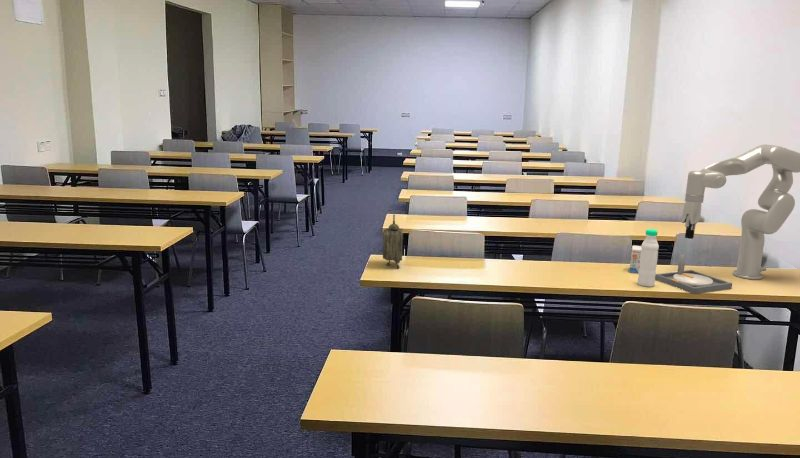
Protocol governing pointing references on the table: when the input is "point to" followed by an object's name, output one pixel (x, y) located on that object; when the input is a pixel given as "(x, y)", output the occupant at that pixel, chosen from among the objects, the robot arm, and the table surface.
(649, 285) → the water bottle
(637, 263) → the ink box
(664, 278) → the gray square tray
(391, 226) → the ribbed lidded container
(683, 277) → the dial
